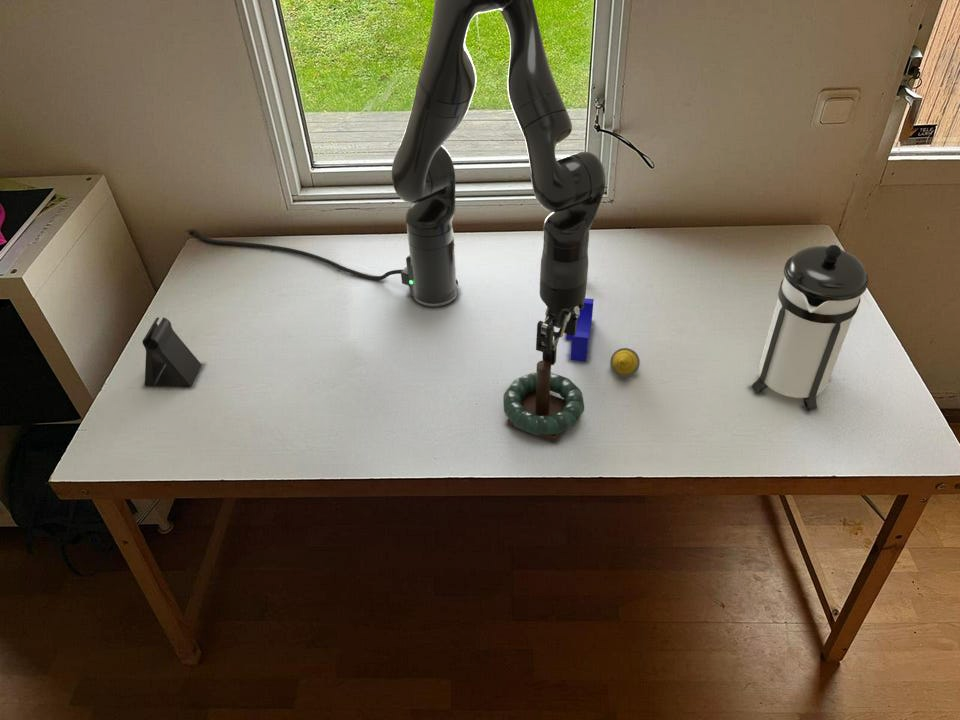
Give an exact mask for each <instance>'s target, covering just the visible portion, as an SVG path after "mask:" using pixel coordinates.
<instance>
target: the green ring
mask: <svg viewBox="0 0 960 720" xmlns="http://www.w3.org/2000/svg"><path fill="white" fill-rule="evenodd" d="M535 390H536V372H529V373H527V374H525V375H523V376H520V377H518V378H516V379H514V380H513V381H512V382H511V383H510V385H509V387H507V389H506V391H504V393H503V397H502V398H503V413H504V414H505V416H506V417H507V419H508V418H509V419H510V420H511V422H512V423H513V424H514V425H515V426H516V427H517V428H516V429H518V428H520V429H522V430H521V431H523V430H525V431H524V432H526V431H527V432H526V433H528V432H530V433H529V434H531V433H532V434H531V435H533V434H535V435H534V436H536V435H547V434H558V433H560V432H561V433H563V432H565V431H567V430H569V429H571V428H574V426H575V425H576V424H577V423H578V421H579V420H580V418H581V417H582V415H583V413H584V411H585V402H584V395H583V391H582V390H581V389H580V388H579V387H578V386H577V385H576V384H575V383H574V382H573V381H572V380H571V379H570V378H568V377H566V376H563V375H560V374H557V373H554V372H551V379H550V392H553V393H555V394H558V395H559V396H560V398H562V399H564V400H565V407H564V408H563V410H562V411H561V412H558V413H556V414H554V415H552V416H538V415H535V414H533V413H530V412H527V411H526V409H525V408H524V407H523V406H522V399H523V398H524V396H525V395H526V394H528V393H531V392H533V391H535ZM520 429H519V430H520ZM561 433H560V434H561Z"/></svg>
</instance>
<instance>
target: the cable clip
mask: <svg viewBox="0 0 960 720" xmlns="http://www.w3.org/2000/svg"><path fill="white" fill-rule="evenodd" d="M594 301H595V299H594V298H586V297H585V299H584V308H583V309H582V310H581V309H580V310H579V312H580V315H579V317H578V318H577V328H576V334H575V335H574V336H571V335H568V334H565V339H566V340H569V341H571V345H570V359H569V361H575V362H583V363H586V362H587V359H588V352H589V351H588V350H589V344H590V338H591V332H592V331H591V329H592V323H593V313H594Z"/></svg>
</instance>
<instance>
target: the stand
mask: <svg viewBox="0 0 960 720" xmlns="http://www.w3.org/2000/svg"><path fill="white" fill-rule="evenodd" d="M535 373H536V390H535V391H533V392H531V393H528V394H526V395H525V396H524V398H523V399H522V406H523V407H524V408H525V409H526V411H527V412H530V413H533V414H535V415H538V416H552V415H554V414H556V413H558V412H561V411H562V410H563V408H564V407H565V400H564V399H563V398H562V397H559V396H556V395H553V394H551V391H550V379H551V373H552V365H551V363H550V362H548V361H546V360H542V359H541V360H539V361H537V363H536V372H535ZM507 425H508V426H511V427H513V428H516V429H518V430H521V431H523V432H526V433H528V434H531V435H534V436H536V437H538V438H541V439H544V440H547V441H548V442H552V443H555V442H556V441H557V440H558V437H559V436H560V434H561V433H562V432H560V433H558V434H547V435H535V434H532V433H530V432H527V431H525V430H522V429H520V428H517V427H516V426H515V425H514V424H513V423H512V422H511V420H510V419H509V418H508V417H507Z"/></svg>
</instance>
